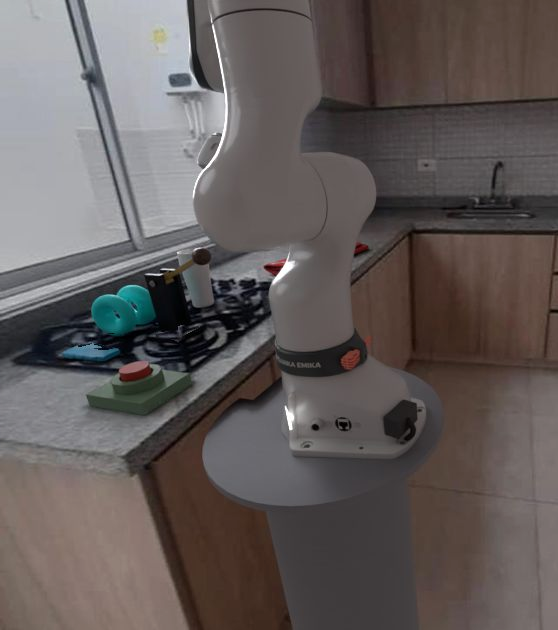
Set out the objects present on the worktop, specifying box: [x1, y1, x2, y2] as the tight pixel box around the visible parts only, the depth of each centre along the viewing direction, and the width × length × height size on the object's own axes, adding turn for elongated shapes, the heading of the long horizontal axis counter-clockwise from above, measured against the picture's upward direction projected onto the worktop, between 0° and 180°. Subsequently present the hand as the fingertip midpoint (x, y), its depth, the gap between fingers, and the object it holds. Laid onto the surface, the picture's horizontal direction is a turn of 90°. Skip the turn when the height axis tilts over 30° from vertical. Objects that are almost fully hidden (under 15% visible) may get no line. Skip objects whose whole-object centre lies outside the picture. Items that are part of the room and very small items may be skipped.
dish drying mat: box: [262, 241, 369, 276], centre depth 159 cm, size 16×41×4 cm, turn 154°
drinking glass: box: [176, 247, 215, 309], centre depth 116 cm, size 7×7×15 cm
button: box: [118, 360, 152, 382], centre depth 74 cm, size 4×4×2 cm
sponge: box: [61, 342, 122, 362], centre depth 92 cm, size 2×12×6 cm
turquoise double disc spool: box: [90, 284, 156, 337], centre depth 103 cm, size 10×10×10 cm
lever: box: [162, 247, 212, 285], centre depth 93 cm, size 16×4×4 cm, turn 72°
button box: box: [85, 363, 193, 416], centre depth 75 cm, size 12×10×4 cm
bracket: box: [143, 268, 208, 345], centre depth 98 cm, size 8×9×15 cm
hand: (232, 192), depth 95 cm, fingers open, 8 cm apart
